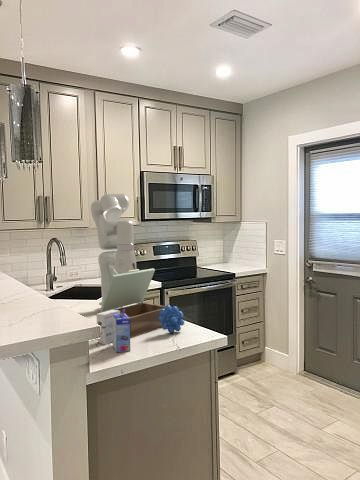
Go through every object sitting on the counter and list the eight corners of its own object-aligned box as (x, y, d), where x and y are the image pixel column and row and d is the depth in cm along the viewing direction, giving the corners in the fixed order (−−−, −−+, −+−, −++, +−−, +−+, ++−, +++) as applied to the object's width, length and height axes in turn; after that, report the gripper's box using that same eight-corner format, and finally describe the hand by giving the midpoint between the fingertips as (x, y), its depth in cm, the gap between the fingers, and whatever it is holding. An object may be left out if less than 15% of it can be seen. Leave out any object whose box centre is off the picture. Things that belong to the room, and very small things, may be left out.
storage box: (103, 330, 172) (102, 312, 172) (143, 318, 190) (142, 302, 190) (131, 337, 160) (130, 318, 160) (171, 324, 178) (170, 307, 178)
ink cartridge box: (131, 351, 143) (130, 312, 143) (116, 353, 142) (114, 313, 141) (127, 343, 153) (125, 306, 152) (112, 345, 151) (111, 308, 150)
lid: (102, 311, 172) (99, 309, 172) (143, 301, 190) (140, 299, 191) (114, 275, 165) (111, 273, 166) (155, 268, 183) (153, 266, 184)
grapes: (162, 337, 159) (161, 308, 158) (156, 333, 165) (155, 305, 164) (188, 333, 163) (187, 304, 163) (182, 329, 169) (181, 301, 169)
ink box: (113, 337, 162) (112, 308, 161) (121, 339, 159) (120, 310, 158) (97, 342, 155) (95, 313, 154) (105, 344, 152) (103, 314, 151)
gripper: (108, 247, 180) (109, 287, 181) (130, 249, 170) (131, 291, 171) (121, 246, 185) (122, 284, 187) (142, 248, 175) (144, 288, 177)
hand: (126, 287), depth 179 cm, fingers closed
